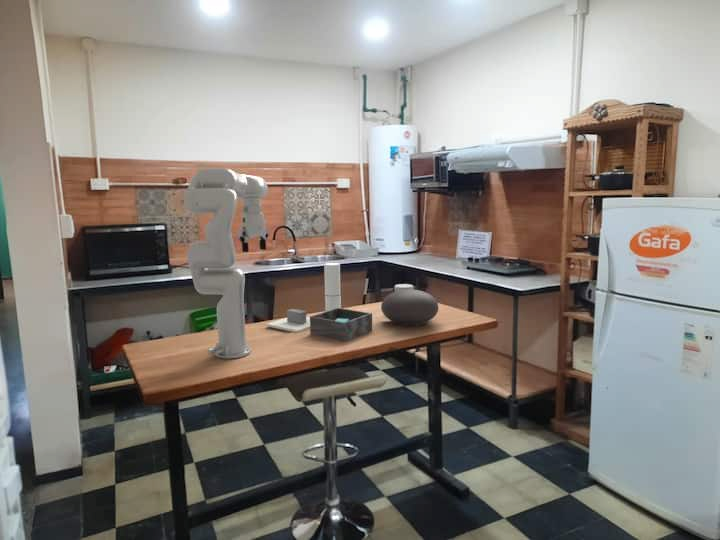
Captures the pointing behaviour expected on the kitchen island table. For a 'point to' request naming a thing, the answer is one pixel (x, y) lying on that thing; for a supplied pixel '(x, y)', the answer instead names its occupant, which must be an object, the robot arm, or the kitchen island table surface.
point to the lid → (292, 321)
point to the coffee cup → (403, 287)
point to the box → (341, 324)
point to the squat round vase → (409, 307)
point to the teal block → (342, 320)
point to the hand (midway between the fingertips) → (254, 250)
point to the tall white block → (332, 286)
